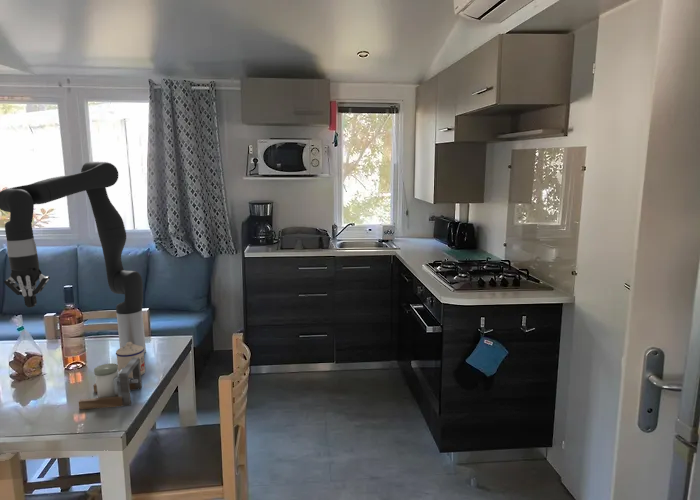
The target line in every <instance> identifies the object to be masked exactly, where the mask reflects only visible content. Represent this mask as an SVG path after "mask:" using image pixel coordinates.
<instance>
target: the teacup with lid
mask: <svg viewBox="0 0 700 500" xmlns="http://www.w3.org/2000/svg"><path fill="white" fill-rule="evenodd" d="M143 351H144V348H143V347H142V346H140V345H135V344H132V342H127V343H126V345H125V346H124V347H122V348H120V347H119V348H118V349H117V350H116V352H115V355H116V362H117V363H116V364H117V365H118V373H119V371H120V370H121V369H122V368H125V366H126V365H127V364H128V363H129V361H130V360H131V359H132V358H134V357H139V361H140V372H141V376H143V375H144V374H145V373H146V364H145V355H144V354H145V353H144V352H143ZM131 379H133V371H132V372H131V373H130V374H129V380H131Z"/></svg>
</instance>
